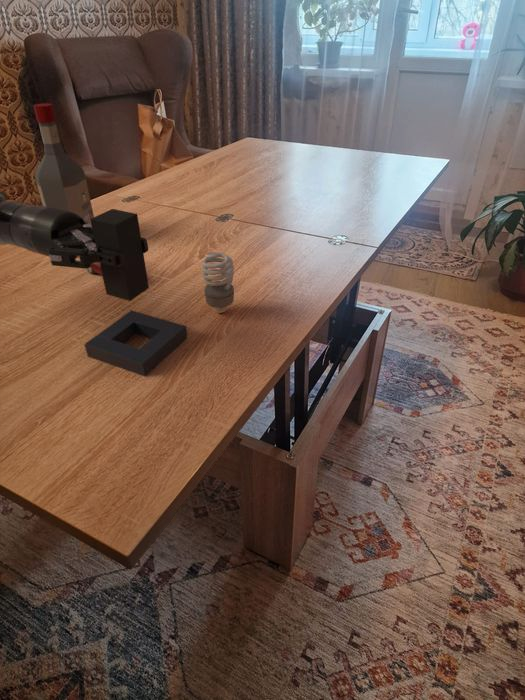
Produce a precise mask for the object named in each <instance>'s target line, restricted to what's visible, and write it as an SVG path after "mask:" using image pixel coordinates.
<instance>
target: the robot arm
mask: <svg viewBox="0 0 525 700" xmlns="http://www.w3.org/2000/svg"><path fill="white" fill-rule="evenodd" d="M141 241H142V247H143V254H146V253H147V252H149V245H148V240H147V238H145V237H143V236H141ZM5 245H11V246H13V247H18V248H20V249H21V248H22V249H25V250H27V251H29V252H30V253H31V252H32V253H34V254H38V255H42V256H46V257H49V260H50V264H51V265H52V266H56V267H65V268H75V269H87V268H90V267H91V265H90V264H92V263H94V264H102V263H104V264H108V265H112V266H117V267H122V266H124V265H125V259H124V254H123V252H121V251H118V250H114V249H109V248H105V247H101V248H100V247H99V246H98V245H96V244H95V239H94V234H93V230H92V225H91V224H87V223H86V222H85V221H84V220H83V219H82V218H81V217H80V216H79V215H77V214H76V213H73V212H69V211H64V210H60V209H55V208H50V207H46V206H43V205H41V204H40V205H39V204H28V203H24V202H19V201H15V200H7V198H6V196H5V195H4V194H3V193H2V192H1V191H0V246H5ZM77 258H79V260H77Z"/></svg>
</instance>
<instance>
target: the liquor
mask: <svg viewBox="0 0 525 700" xmlns="http://www.w3.org/2000/svg"><path fill="white" fill-rule="evenodd" d="M33 110H34V115H35V118H36V119H35V120H36V122H37V123H38V127H39V130H40V136H41V139H42V144H43V148H44V149H43V152H44V155H43V157H42V158H41V161H39V164H38V166H37V168H36V169H35V171H34V179H35V183H36V186H37V189H38V193H39V197H40V201H41V205H42V206H46V207H50V208H55V209H60V210H64V211H69V212H73V213H76V214H77V215H79V216H80V217H81V218H82V219H83V220H84V221H85V222H86V223H87V224H91V221H90V219H92V218H94V217H95V215H94V211H93V206H92V200H91V197H90V192H89V188H88V184H87V183H88V182H87V179H86V174H85V171H84V169H83V167H82V166H81V165H80V164H79V163H78V162H76V161H75V160H74V159H73V158H72V157H71V156H70V155H68V154H67V153H66V152H65V149H64V148H63V146H62V143H61V138H60V135H59V131H58V127H57V123H56V121H57V119H56V115H55V112H54V107H53V104H52V103H46V102H45V103H37V104H33Z"/></svg>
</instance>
